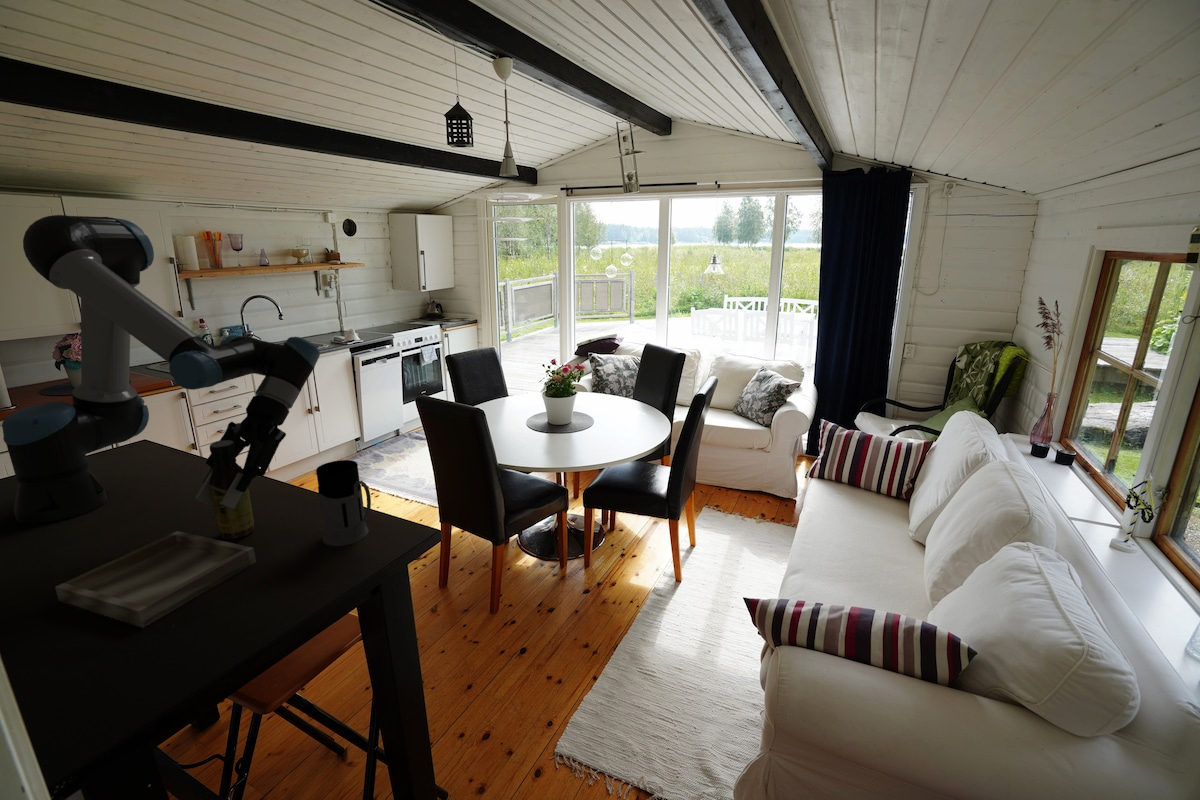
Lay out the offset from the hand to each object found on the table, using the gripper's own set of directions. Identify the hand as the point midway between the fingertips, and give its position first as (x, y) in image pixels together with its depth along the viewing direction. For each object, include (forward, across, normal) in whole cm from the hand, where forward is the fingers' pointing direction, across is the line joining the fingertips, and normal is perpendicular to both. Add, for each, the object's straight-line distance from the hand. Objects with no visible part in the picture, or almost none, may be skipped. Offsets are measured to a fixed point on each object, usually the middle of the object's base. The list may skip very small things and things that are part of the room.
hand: (214, 503), depth 111 cm
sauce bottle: (+4, 0, -9) cm, 9 cm away
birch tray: (+15, -3, +4) cm, 16 cm away
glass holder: (-1, -24, -13) cm, 27 cm away
